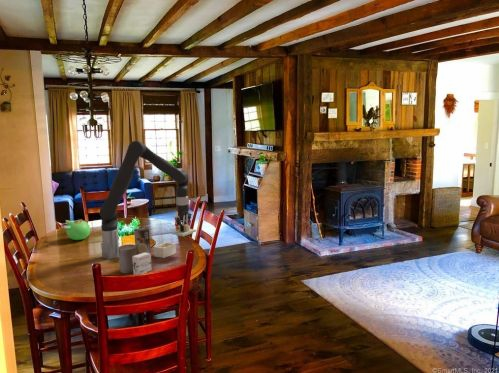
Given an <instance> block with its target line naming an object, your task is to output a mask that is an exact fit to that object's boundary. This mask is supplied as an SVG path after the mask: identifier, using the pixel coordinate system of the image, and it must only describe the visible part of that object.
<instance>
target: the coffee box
mask: <svg viewBox="0 0 499 373" xmlns="http://www.w3.org/2000/svg"><path fill="white" fill-rule="evenodd" d="M133 232H134V234H133V235H134V245H136V250H137V255H138V254H142V253H145V252H146V253H149V254H151V255H152V252H151V251H152V249H151V238H150V237H151V236H150V228H149V227H141V228H134V229H133Z"/></svg>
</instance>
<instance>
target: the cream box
mask: <svg viewBox="0 0 499 373" xmlns="http://www.w3.org/2000/svg"><path fill="white" fill-rule="evenodd" d="M176 244H177V243H174V242H168V241H165V242H163V243H161V244H157V245H155V246H153V255H154V256H153V257H157V258H161V259H165V258H167V257H169V256H173V255H175V254H176V253H177V245H176Z"/></svg>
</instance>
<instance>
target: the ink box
mask: <svg viewBox="0 0 499 373" xmlns="http://www.w3.org/2000/svg"><path fill="white" fill-rule="evenodd" d="M151 256H152V253H151V254H149V253H146V252H145V253H142V254H138V255H135V256H132V259H133V276H134V275H138V274H144V273H149V272H153V270H152V257H151Z"/></svg>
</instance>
